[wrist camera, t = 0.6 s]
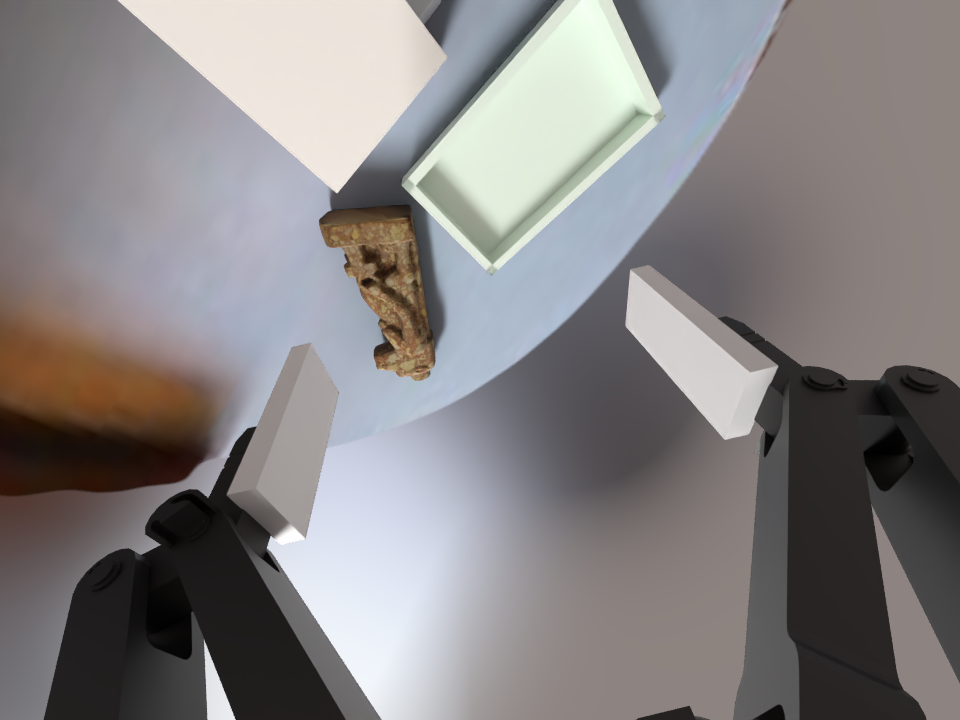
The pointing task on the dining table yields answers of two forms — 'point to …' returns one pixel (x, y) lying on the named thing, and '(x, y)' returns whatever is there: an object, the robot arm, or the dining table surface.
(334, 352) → the dining table surface
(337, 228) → the sculpture
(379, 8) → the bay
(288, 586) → the robot arm
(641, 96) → the tray
